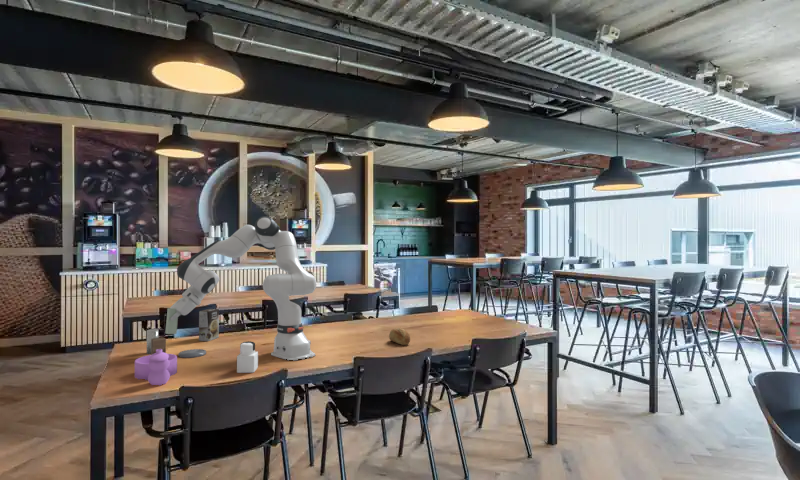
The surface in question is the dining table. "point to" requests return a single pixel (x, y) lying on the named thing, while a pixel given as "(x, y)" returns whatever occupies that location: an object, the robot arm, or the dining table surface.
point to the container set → (156, 367)
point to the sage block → (171, 322)
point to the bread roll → (399, 336)
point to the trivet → (192, 353)
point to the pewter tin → (150, 335)
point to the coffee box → (208, 324)
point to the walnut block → (158, 344)
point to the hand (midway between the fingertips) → (169, 319)
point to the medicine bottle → (247, 358)
